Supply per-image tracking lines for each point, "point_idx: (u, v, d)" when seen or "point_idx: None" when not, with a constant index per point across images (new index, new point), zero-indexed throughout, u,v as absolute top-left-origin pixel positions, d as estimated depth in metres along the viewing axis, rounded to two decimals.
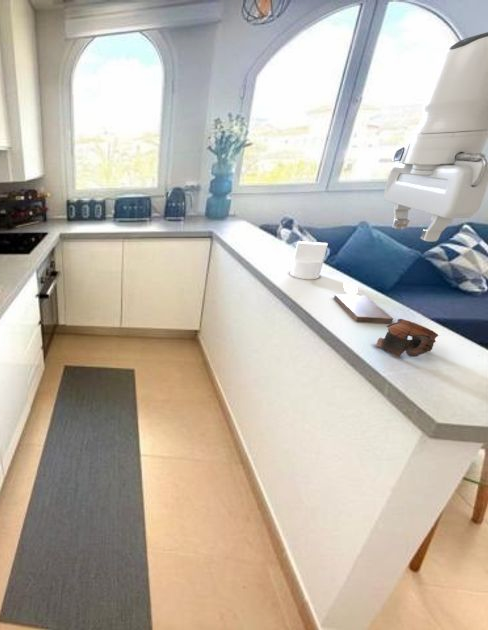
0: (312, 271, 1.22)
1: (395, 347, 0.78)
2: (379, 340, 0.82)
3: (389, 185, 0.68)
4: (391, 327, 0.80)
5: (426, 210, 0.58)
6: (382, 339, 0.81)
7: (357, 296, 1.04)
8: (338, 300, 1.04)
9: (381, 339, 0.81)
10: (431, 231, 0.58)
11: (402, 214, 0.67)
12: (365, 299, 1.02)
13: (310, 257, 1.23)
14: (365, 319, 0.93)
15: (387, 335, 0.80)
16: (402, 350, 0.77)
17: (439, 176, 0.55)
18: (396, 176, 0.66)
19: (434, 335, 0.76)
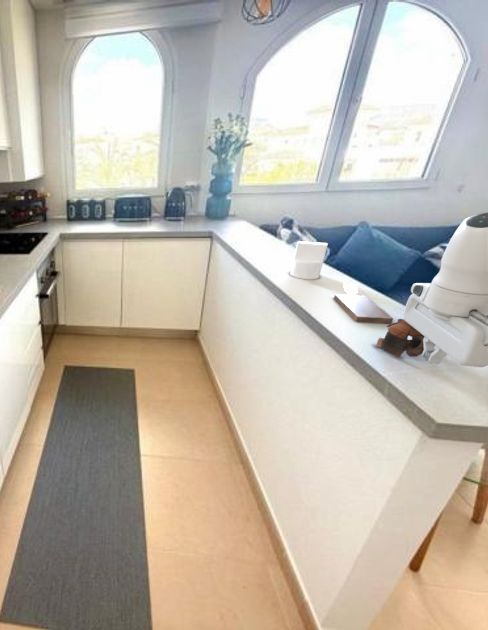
0: (312, 271, 1.22)
1: (395, 347, 0.78)
2: (379, 340, 0.82)
3: (408, 309, 0.77)
4: (391, 327, 0.80)
5: (443, 350, 0.66)
6: (382, 339, 0.81)
7: (357, 296, 1.04)
8: (338, 300, 1.04)
9: (381, 339, 0.81)
10: (434, 356, 0.70)
11: (432, 346, 0.72)
12: (365, 299, 1.02)
13: (310, 257, 1.23)
14: (365, 319, 0.93)
15: (387, 335, 0.80)
16: (402, 350, 0.77)
17: (455, 326, 0.64)
18: (415, 304, 0.75)
19: None
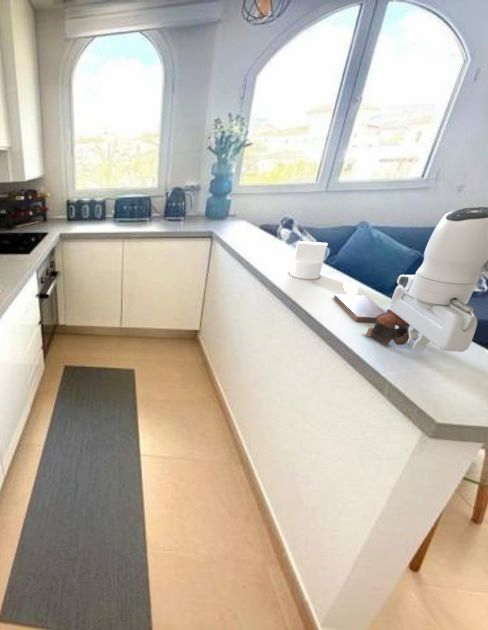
0: (312, 271, 1.22)
1: (383, 336, 0.83)
2: (369, 330, 0.86)
3: (394, 300, 0.81)
4: (380, 317, 0.85)
5: (426, 336, 0.71)
6: (371, 328, 0.85)
7: (357, 296, 1.04)
8: (338, 300, 1.04)
9: (370, 329, 0.86)
10: (418, 343, 0.75)
11: (416, 334, 0.76)
12: (365, 299, 1.02)
13: (310, 257, 1.23)
14: (365, 319, 0.93)
15: (376, 325, 0.84)
16: (389, 338, 0.82)
17: (437, 314, 0.69)
18: (401, 295, 0.79)
19: None
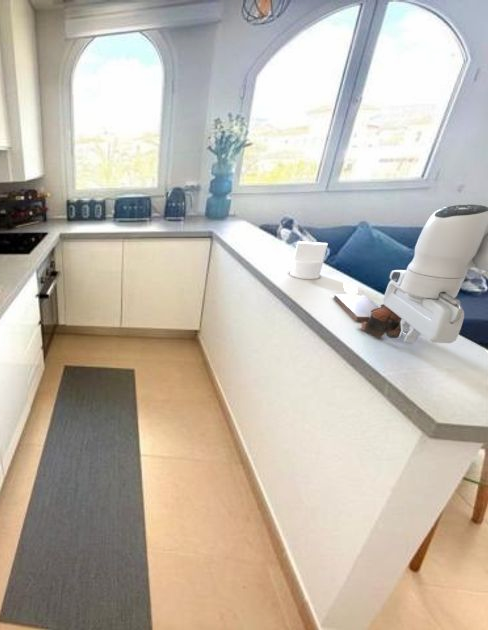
0: (312, 271, 1.22)
1: (376, 330, 0.86)
2: (363, 324, 0.89)
3: (387, 295, 0.84)
4: (374, 311, 0.87)
5: (417, 329, 0.74)
6: (366, 323, 0.88)
7: (357, 296, 1.04)
8: (338, 300, 1.04)
9: (365, 323, 0.89)
10: (409, 336, 0.78)
11: (408, 327, 0.79)
12: (365, 299, 1.02)
13: (310, 257, 1.23)
14: (365, 319, 0.93)
15: (370, 319, 0.87)
16: (383, 332, 0.85)
17: (427, 307, 0.71)
18: (393, 290, 0.82)
19: None
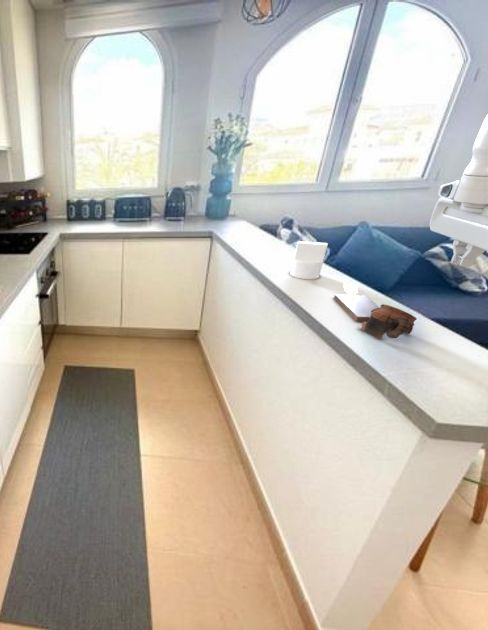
0: (312, 271, 1.22)
1: (376, 330, 0.86)
2: (363, 324, 0.89)
3: (435, 217, 0.72)
4: (374, 311, 0.87)
5: (477, 245, 0.62)
6: (366, 323, 0.88)
7: (357, 296, 1.04)
8: (338, 300, 1.04)
9: (365, 323, 0.89)
10: (466, 258, 0.66)
11: (462, 249, 0.68)
12: (365, 299, 1.02)
13: (310, 257, 1.23)
14: (365, 319, 0.93)
15: (370, 319, 0.87)
16: (383, 332, 0.85)
17: None
18: (442, 209, 0.71)
19: (413, 318, 0.83)
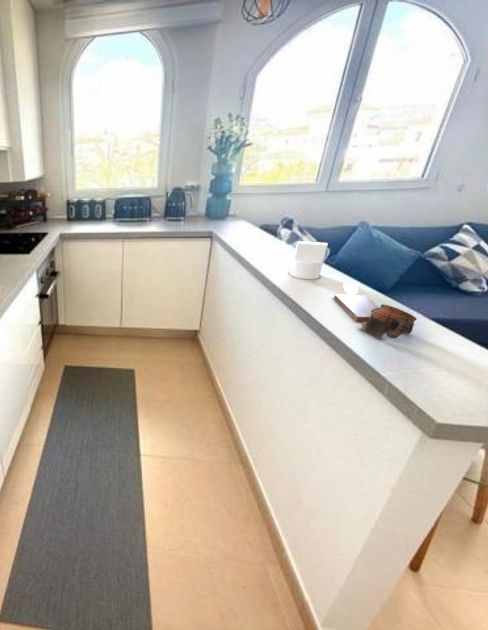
0: (312, 271, 1.22)
1: (376, 330, 0.86)
2: (363, 324, 0.89)
3: None
4: (374, 311, 0.87)
5: None
6: (366, 323, 0.88)
7: (357, 296, 1.04)
8: (338, 300, 1.04)
9: (365, 323, 0.89)
10: None
11: None
12: (365, 299, 1.02)
13: (310, 257, 1.23)
14: (365, 319, 0.93)
15: (370, 319, 0.87)
16: (383, 332, 0.85)
17: None
18: None
19: (413, 318, 0.83)
